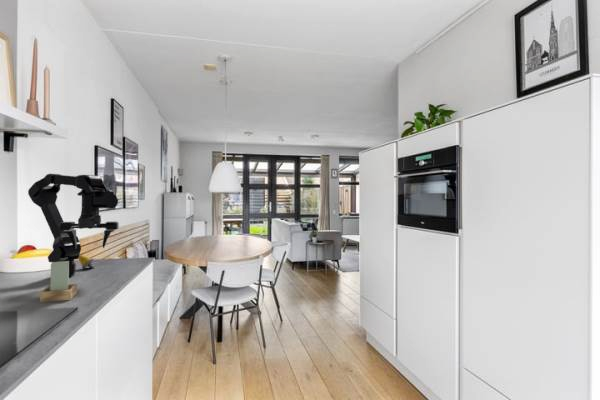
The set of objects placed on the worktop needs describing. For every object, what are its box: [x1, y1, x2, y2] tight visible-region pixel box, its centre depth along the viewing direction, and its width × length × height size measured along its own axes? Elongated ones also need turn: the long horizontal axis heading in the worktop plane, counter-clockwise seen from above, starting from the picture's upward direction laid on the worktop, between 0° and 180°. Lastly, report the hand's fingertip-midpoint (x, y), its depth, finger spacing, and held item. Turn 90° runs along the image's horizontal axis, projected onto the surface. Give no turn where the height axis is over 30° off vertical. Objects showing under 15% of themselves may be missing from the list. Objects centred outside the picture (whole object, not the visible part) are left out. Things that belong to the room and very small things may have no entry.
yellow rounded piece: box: [77, 254, 95, 270], centre depth 140 cm, size 5×5×10 cm
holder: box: [39, 283, 78, 303], centre depth 102 cm, size 8×8×3 cm
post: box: [49, 261, 70, 291], centre depth 102 cm, size 4×4×11 cm
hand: (89, 248), depth 123 cm, fingers open, 9 cm apart
